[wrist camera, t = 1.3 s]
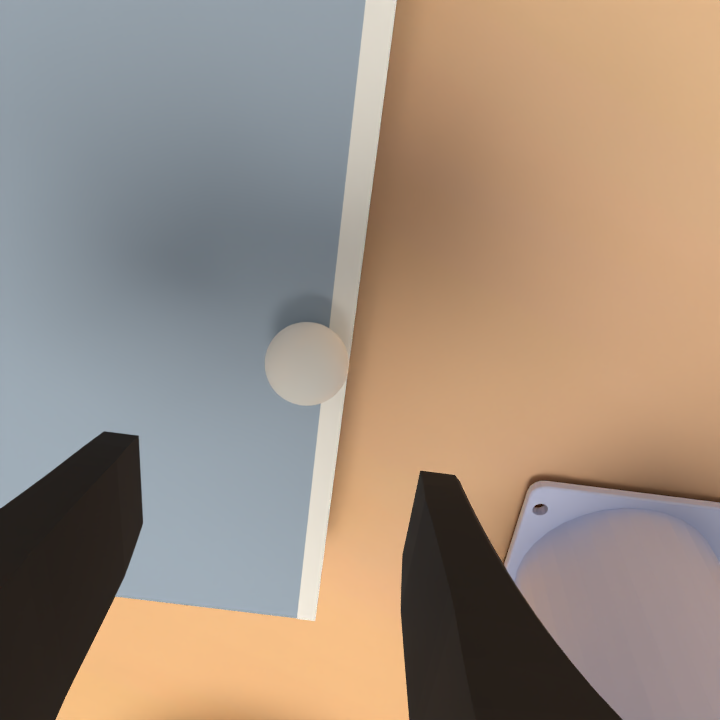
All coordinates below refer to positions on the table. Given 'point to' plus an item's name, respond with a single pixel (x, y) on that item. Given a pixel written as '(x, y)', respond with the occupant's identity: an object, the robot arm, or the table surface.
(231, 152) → the lid
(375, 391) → the table surface
